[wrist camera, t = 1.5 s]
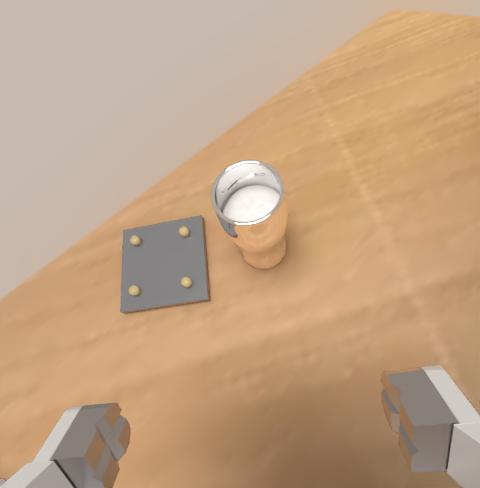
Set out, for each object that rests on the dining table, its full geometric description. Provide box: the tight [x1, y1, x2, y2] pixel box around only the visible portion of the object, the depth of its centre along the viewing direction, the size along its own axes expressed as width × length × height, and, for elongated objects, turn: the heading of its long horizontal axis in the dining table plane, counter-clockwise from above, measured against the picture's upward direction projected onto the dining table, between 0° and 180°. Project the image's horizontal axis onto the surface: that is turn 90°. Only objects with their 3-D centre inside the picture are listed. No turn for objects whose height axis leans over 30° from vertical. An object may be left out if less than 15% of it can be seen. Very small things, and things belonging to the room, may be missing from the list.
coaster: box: [120, 216, 210, 313], centre depth 40 cm, size 12×12×2 cm
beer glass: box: [211, 160, 288, 269], centre depth 32 cm, size 7×7×15 cm
